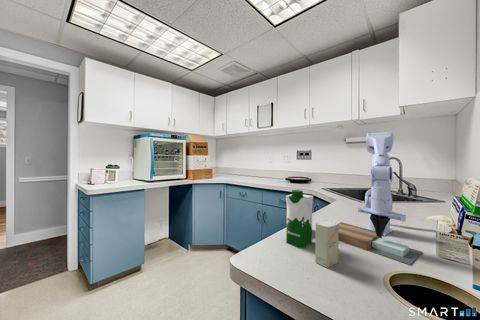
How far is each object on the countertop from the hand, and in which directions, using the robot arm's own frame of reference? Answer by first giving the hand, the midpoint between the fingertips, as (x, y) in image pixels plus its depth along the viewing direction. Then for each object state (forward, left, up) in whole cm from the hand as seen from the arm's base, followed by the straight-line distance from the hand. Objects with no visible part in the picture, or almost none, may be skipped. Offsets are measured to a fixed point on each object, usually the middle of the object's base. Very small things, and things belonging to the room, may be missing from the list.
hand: (379, 235), depth 74 cm
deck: (0, -10, -4) cm, 10 cm away
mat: (0, +5, -4) cm, 6 cm away
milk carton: (+21, -20, -4) cm, 29 cm away
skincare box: (+26, -6, -4) cm, 27 cm away
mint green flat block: (0, +3, -4) cm, 5 cm away
